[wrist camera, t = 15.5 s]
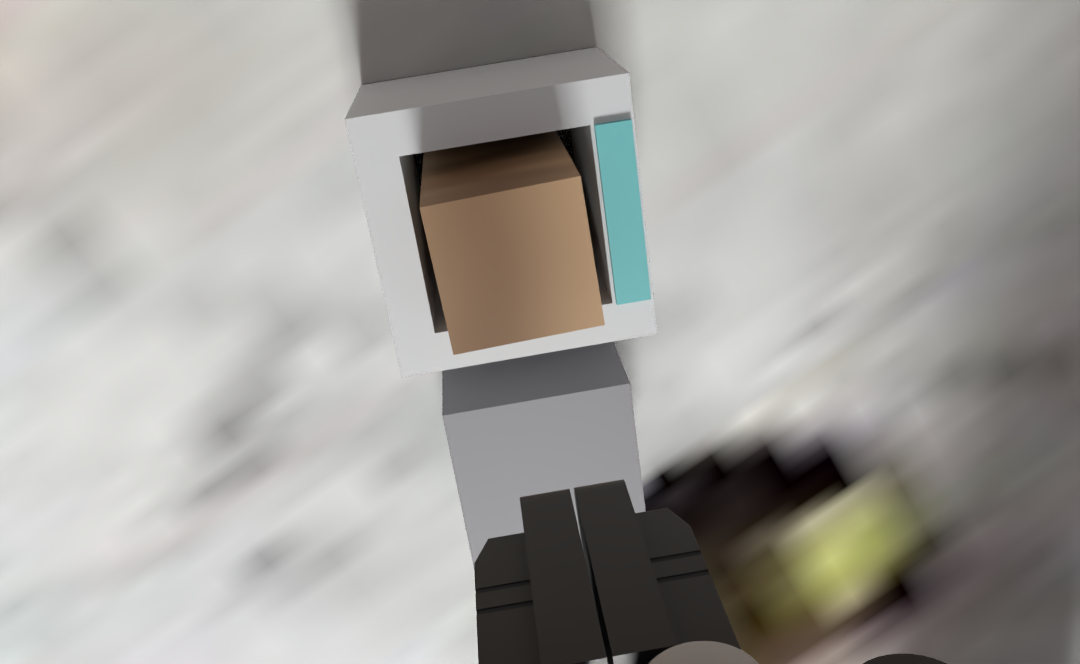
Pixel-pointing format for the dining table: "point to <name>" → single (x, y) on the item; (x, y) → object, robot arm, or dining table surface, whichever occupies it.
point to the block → (509, 241)
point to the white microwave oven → (488, 115)
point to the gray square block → (537, 433)
